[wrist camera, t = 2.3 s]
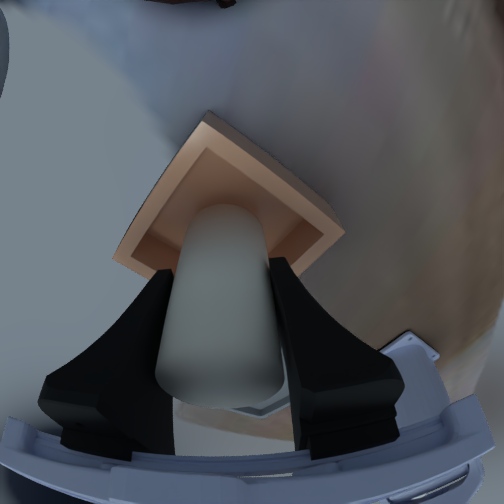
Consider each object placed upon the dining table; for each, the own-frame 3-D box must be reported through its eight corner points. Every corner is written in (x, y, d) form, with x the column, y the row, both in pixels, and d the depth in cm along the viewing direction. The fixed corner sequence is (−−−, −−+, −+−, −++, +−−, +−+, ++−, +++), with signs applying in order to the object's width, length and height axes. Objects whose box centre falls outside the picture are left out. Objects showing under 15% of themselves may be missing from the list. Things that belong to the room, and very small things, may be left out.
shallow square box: (330, 204, 17) (345, 232, 14) (238, 293, 20) (239, 326, 18) (208, 110, 13) (202, 120, 11) (127, 228, 17) (112, 258, 15)
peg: (281, 233, 15) (311, 374, 8) (232, 281, 17) (233, 416, 10) (215, 188, 13) (197, 325, 7) (171, 245, 15) (136, 383, 9)
